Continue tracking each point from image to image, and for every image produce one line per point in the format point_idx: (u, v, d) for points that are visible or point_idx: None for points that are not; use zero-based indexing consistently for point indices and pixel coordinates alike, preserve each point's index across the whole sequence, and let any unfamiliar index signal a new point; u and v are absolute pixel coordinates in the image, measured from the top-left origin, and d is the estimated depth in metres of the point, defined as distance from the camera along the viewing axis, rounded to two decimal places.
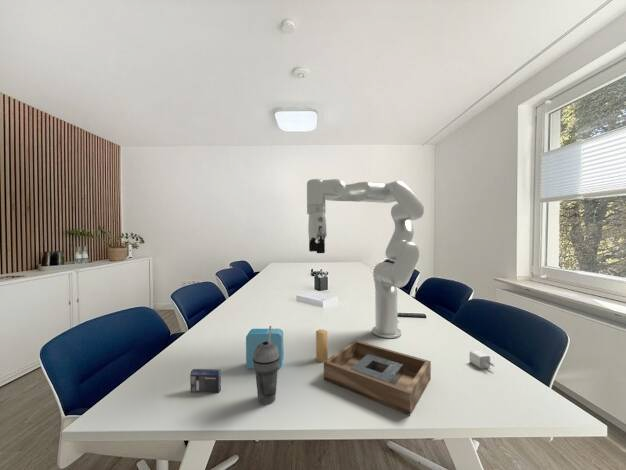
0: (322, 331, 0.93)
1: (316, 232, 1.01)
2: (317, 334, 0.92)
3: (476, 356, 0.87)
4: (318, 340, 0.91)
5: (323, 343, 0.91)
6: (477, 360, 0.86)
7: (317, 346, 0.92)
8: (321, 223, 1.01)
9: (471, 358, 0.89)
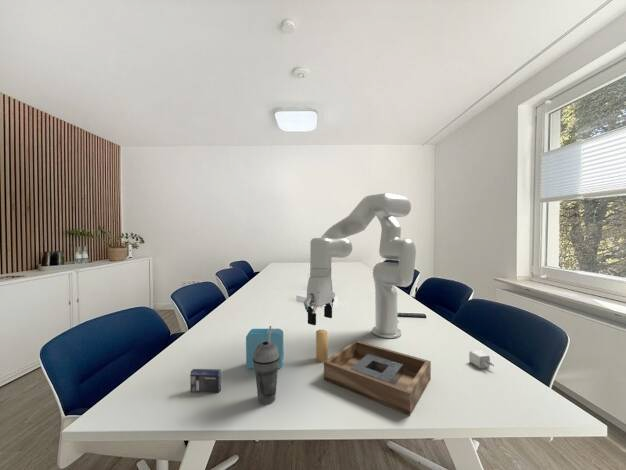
0: (322, 331, 0.93)
1: None
2: (317, 334, 0.92)
3: (476, 356, 0.87)
4: (318, 340, 0.91)
5: (323, 343, 0.91)
6: (477, 360, 0.86)
7: (317, 346, 0.92)
8: None
9: (470, 358, 0.89)
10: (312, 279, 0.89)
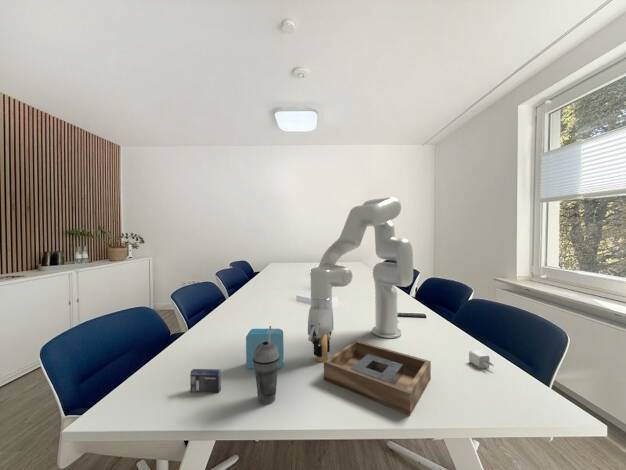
0: None
1: None
2: None
3: (475, 356, 0.87)
4: None
5: (323, 343, 0.91)
6: (477, 359, 0.87)
7: None
8: None
9: (470, 358, 0.89)
10: (312, 310, 0.89)
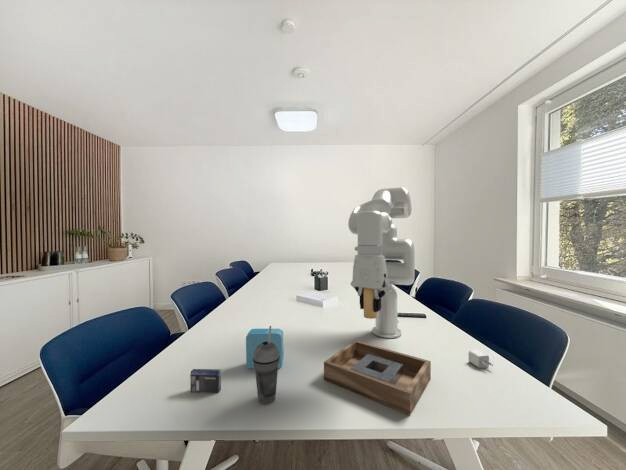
0: None
1: None
2: None
3: (475, 355, 0.87)
4: None
5: None
6: (476, 359, 0.87)
7: None
8: None
9: (470, 358, 0.90)
10: (382, 258, 0.78)
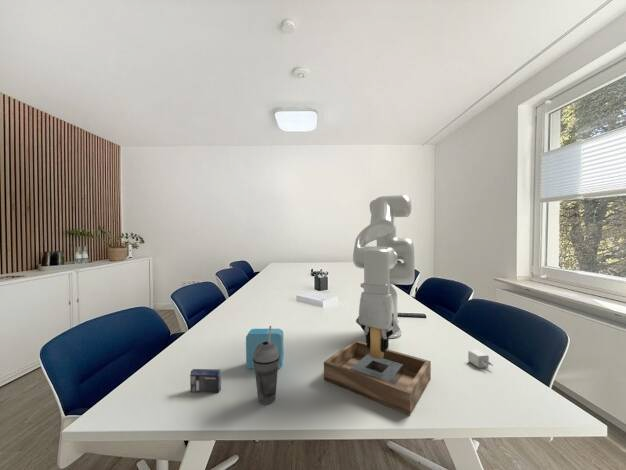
0: None
1: None
2: None
3: (475, 355, 0.87)
4: None
5: None
6: (476, 359, 0.87)
7: None
8: None
9: (469, 358, 0.90)
10: (390, 297, 0.77)
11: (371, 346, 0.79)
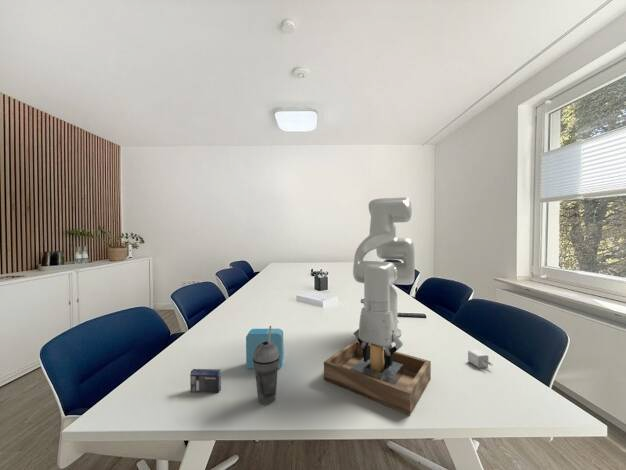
0: None
1: None
2: (382, 347, 0.78)
3: (474, 355, 0.88)
4: (382, 353, 0.79)
5: None
6: (476, 359, 0.87)
7: (382, 362, 0.78)
8: None
9: (469, 357, 0.90)
10: (390, 314, 0.77)
11: (371, 367, 0.79)
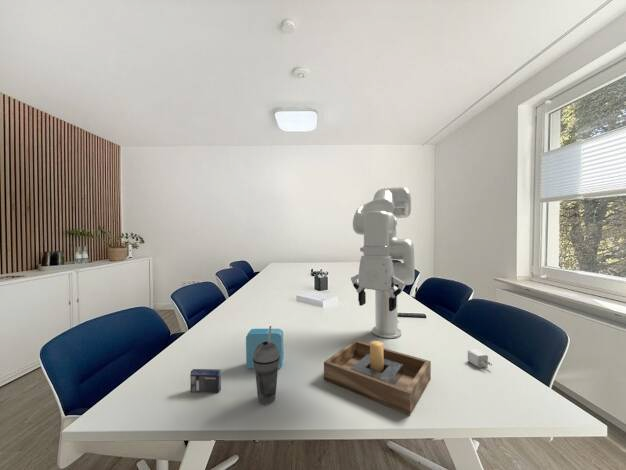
0: (375, 343, 0.80)
1: None
2: (382, 347, 0.78)
3: (474, 355, 0.88)
4: (382, 353, 0.79)
5: None
6: (475, 359, 0.87)
7: (382, 362, 0.78)
8: None
9: (469, 357, 0.90)
10: (390, 258, 0.77)
11: (371, 367, 0.79)
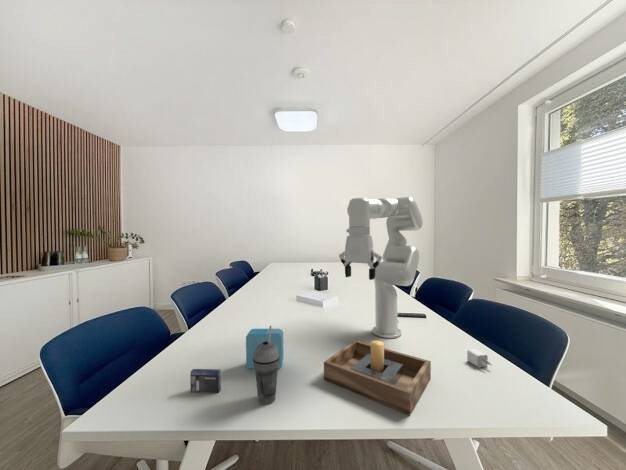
0: (376, 342, 0.80)
1: None
2: (382, 347, 0.79)
3: (474, 355, 0.88)
4: (383, 353, 0.79)
5: None
6: (475, 359, 0.87)
7: (382, 361, 0.79)
8: None
9: (468, 357, 0.90)
10: (370, 237, 0.93)
11: (371, 366, 0.79)
